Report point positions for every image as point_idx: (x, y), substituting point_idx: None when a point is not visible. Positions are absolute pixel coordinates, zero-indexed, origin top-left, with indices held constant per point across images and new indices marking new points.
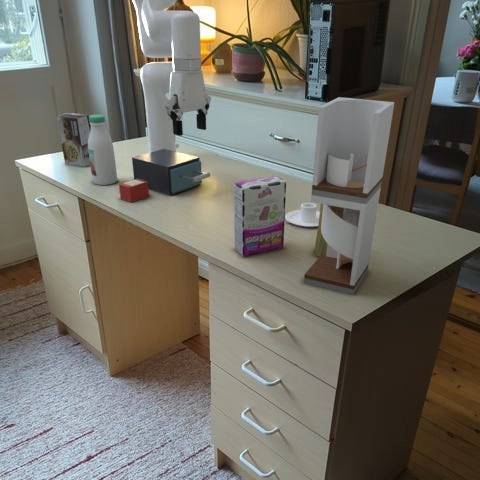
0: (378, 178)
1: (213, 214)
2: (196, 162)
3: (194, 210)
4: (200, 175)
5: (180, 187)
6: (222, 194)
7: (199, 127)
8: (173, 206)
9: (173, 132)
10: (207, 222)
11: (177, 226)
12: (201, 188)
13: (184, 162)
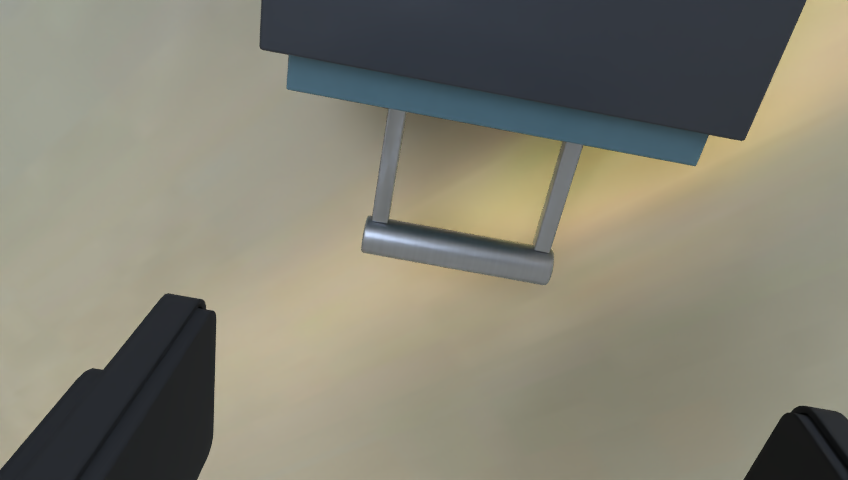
0: None
1: (236, 379)
2: (639, 147)
3: (217, 283)
4: (443, 261)
5: None
6: (528, 292)
7: (772, 470)
8: (185, 151)
9: (156, 309)
10: None
11: (3, 316)
12: None
13: (509, 96)
